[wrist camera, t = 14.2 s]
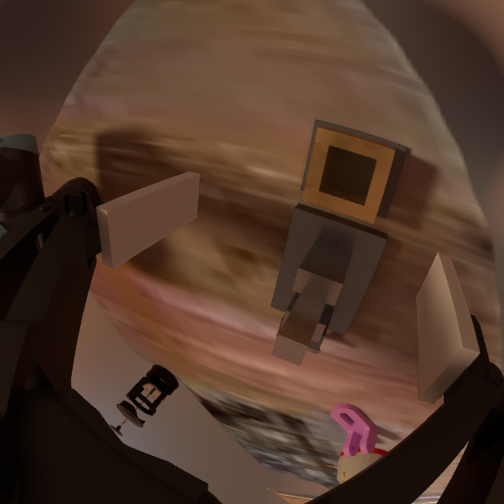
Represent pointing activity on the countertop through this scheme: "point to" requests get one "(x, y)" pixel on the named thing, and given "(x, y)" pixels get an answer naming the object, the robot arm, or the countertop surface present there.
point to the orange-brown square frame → (337, 195)
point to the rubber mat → (358, 166)
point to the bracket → (355, 429)
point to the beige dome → (356, 463)
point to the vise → (322, 278)
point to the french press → (153, 388)
